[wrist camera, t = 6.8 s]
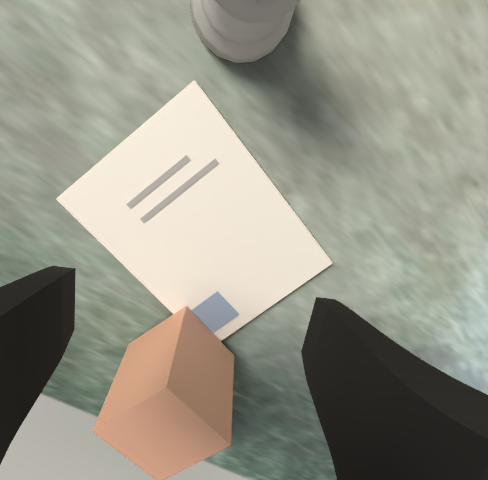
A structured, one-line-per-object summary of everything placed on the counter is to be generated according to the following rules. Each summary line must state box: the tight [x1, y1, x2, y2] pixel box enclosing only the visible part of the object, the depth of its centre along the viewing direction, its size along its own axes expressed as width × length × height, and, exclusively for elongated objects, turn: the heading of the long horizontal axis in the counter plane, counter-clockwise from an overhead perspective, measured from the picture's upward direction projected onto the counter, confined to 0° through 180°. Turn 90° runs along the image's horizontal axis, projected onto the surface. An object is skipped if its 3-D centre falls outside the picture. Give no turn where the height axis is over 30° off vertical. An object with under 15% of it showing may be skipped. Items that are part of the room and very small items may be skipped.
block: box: [92, 306, 234, 480], centre depth 20 cm, size 4×4×6 cm
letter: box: [56, 80, 332, 341], centre depth 20 cm, size 12×9×1 cm
